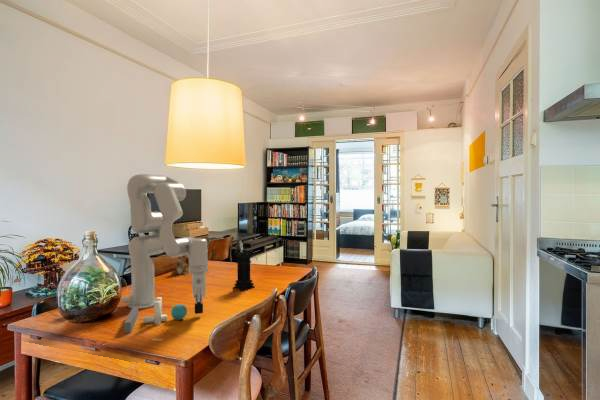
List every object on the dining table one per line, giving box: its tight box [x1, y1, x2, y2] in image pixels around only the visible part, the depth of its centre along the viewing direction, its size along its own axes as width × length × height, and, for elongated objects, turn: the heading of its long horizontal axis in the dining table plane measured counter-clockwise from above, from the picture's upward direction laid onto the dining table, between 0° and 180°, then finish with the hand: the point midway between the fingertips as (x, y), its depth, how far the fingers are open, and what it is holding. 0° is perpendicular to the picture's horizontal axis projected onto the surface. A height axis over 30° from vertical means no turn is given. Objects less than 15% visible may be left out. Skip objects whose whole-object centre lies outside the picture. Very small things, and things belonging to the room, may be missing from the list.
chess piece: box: [233, 249, 255, 291], centre depth 178 cm, size 8×8×20 cm
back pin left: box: [155, 296, 163, 315], centre depth 134 cm, size 2×2×8 cm
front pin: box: [142, 314, 168, 324], centre depth 131 cm, size 2×2×8 cm
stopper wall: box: [123, 306, 139, 334], centre depth 128 cm, size 2×18×4 cm, turn 18°
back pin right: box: [153, 301, 162, 326], centre depth 129 cm, size 2×2×8 cm
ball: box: [170, 303, 188, 321], centre depth 133 cm, size 6×6×6 cm
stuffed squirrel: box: [171, 255, 190, 276], centre depth 214 cm, size 10×14×13 cm
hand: (198, 312), depth 136 cm, fingers closed
